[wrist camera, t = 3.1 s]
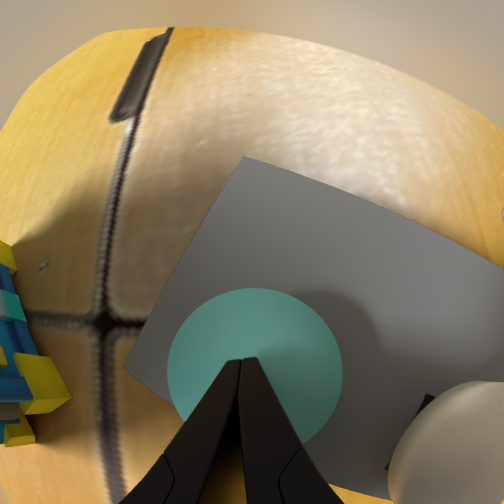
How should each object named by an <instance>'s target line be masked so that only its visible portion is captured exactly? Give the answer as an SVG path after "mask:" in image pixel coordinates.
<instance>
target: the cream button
mask: <svg viewBox="0 0 504 504" xmlns="http://www.w3.org/2000/svg"><path fill="white" fill-rule="evenodd" d="M387 484H388V491H389V494H390V497H391V499H392V500H393V502H394V504H500V503H501V502H502V501H503V500H504V382H486V381H470V382H466V383H462V384H460V385H457V386H455V387H452V388H451V389H449V390H447V391H445V392H444V393H442V394H441V395H439V396H438V397H436V398H435V399H434V400H433V401H432V402H430V403H429V404H428V405H427V406H426V407H425V408H424V409H423V410H422V411H421V412H420V413H419V414H418V415H417V417H416V418H415V419H414V420H413V421H412V423H411V424H410V425H409V427H408V428H407V429H406V431H405V432H404V434H403V436H402V437H401V439H400V441H399V443H398V445H397V447H396V449H395V451H394V453H393V456H392V459H391V462H390V465H389V471H388V483H387Z"/></svg>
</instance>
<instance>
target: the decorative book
mask: <svg viewBox="0 0 504 504" xmlns="http://www.w3.org/2000/svg"><path fill="white" fill-rule="evenodd" d="M15 272H17V267H16V263H15V260H14V256H13V252H12V248H11V246H9V245H8V244H6V243H4V242H2V241H0V444H3V446H4V447H13V446H21V445H28V444H35V435H34V433H33V431H32V429H31V427H30V425H29V423H28V421H27V420H26V418H25V416H24V415H26V414H41V413H50V412H52V411H53V410H55V409H56V408H58V407H59V406H61V405H62V404H64V403H65V402H67V401H68V400H70V399H71V398H72V396H71V394H70V393H69V391H68V389H67V387H66V386H65V384H64V382H63V380H62V378H61V376H60V375H59V373H58V371H57V369H56V367H55V365H54V363H53V361H52V359H51V357H46V356H39V354H38V352H37V350H36V347H35V345H34V343H33V340H32V338H31V335H30V333H29V330H28V328H27V320H26V318H25V315H24V312H23V309H22V306H21V303H20V300H19V297H18V295H16V293H15V289H14V286H13V282H12V279H11V275H12V274H14V273H15ZM23 413H24V414H23Z"/></svg>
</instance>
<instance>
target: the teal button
mask: <svg viewBox="0 0 504 504" xmlns="http://www.w3.org/2000/svg"><path fill="white" fill-rule="evenodd" d="M253 356H256V357H257V358H258V360H259V362H260V364H261V366H262V368H263V370H264V372H265V374H266V376H267V378H268V380H269V382H270V384H271V386H272V388H273V390H274V391H275V393H276V395H277V397H278V399H279V401H280V403H281V405H282V407H283V409H284V411H285V412H286V414H287V416H288V418H289V420H290V422H291V424H292V426H293V427H294V429H295V431H296V433H297V435H298V437H299V439H300V440H301V442H302V444H303V443H305V442H306V441H308V440H309V439H311V438H312V437H313V436H314V435H315V434H316V433H318V431H319V430H320V429H321V428H322V427H323V426H324V425H325V424H326V422H327V421H328V419H329V418H330V416H331V415H332V413H333V411H334V409H335V407H336V405H337V402H338V399H339V396H340V392H341V387H342V378H343V368H342V360H341V355H340V351H339V347H338V345H337V342H336V340H335V338H334V336H333V334H332V332H331V331H330V329H329V327H328V326H327V324H326V323H325V322H324V321H323V319H322V318H321V317H320V316H319V315H318V314H317V313H316V312H315V311H314V310H313V309H312V308H310V307H309V306H307V305H306V304H305V303H303V302H302V301H300V300H298V299H296V298H294V297H293V296H290V295H287V294H285V293H282V292H279V291H275V290H271V289H263V288H245V289H238V290H233V291H229V292H226V293H223V294H221V295H218V296H216V297H214V298H212V299H210V300H208V301H207V302H205V303H204V304H202V305H201V306H200V307H198V308H197V309H196V310H195V311H194V312H193V313H192V314H191V315H190V316H189V317H188V318H187V319H186V320H185V322H184V323H183V324H182V326H181V327H180V329H179V330H178V332H177V334H176V336H175V338H174V341H173V343H172V346H171V349H170V352H169V358H168V365H167V378H168V386H169V391H170V395H171V398H172V401H173V403H174V406H175V408H176V410H177V412H178V413H179V415H180V417H181V418H182V420H183V421H184V422H185V421H186V420H187V418H188V417H189V415H190V414H191V413H192V411H193V410H194V408H195V407H196V405H197V404H198V402H199V401H200V400H201V398H202V397H203V395H204V394H205V392H206V391H207V389H208V388H209V386H210V385H211V383H212V382H213V381H214V379H215V378H216V376H217V375H218V373H219V372H220V370H221V369H222V367H223V366H224V364H225V363H226V361H228V360H233V359H243V358H247V357H253Z"/></svg>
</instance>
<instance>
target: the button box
mask: <svg viewBox="0 0 504 504" xmlns="http://www.w3.org/2000/svg"><path fill="white" fill-rule="evenodd" d="M245 288H263V289H271V290H275V291H279V292H282V293H285V294H287V295H290V296H293V297H294V298H296V299H298V300H300V301H302V302H303V303H305V304H306V305H307V306H309V307H310V308H312V309H313V310H314V311H315V312H316V313H317V314H318V315H319V316H320V317H321V318H322V319H323V321H324V322H325V323H326V324H327V326H328V327H329V329H330V331H331V332H332V334H333V336H334V338H335V340H336V342H337V345H338V347H339V351H340V355H341V360H342V368H343V378H342V387H341V392H340V396H339V399H338V402H337V405H336V407H335V409H334V411H333V413H332V415H331V416H330V418H329V419H328V421H327V422H326V424H325V425H324V426H323V427H322V428H321V429H320V430H319V431H318V433H316V434H315V435H314V436H313V437H312V438H311V439H309V440H308V441H306V442H305V443H303V447H305V449H306V451H307V453H308V455H309V456H310V458H311V460H312V461H313V463H314V465H315V466H316V468H317V469H318V471H319V473H320V474H321V475H322V477H323V478H324V479H325V481H326V482H327V483H329V484H332V485H335V486H338V487H341V488H344V489H348V490H351V491H355V492H358V493H362V494H366V495H370V496H374V497H378V498H382V499H387V500H392V499H391V497H390V494H389V491H388V484H387V483H388V471H389V465H390V462H391V459H392V456H393V453H394V451H395V449H396V447H397V445H398V443H399V441H400V439H401V437H402V436H403V434H404V432H405V431H406V429H407V428H408V427H409V425H410V424H411V423H412V421H413V420H414V419H415V418H416V417H417V415H418V414H419V413H420V412H421V411H422V410H423V409H424V408H425V407H426V406H427V405H428V404H429V403H430V402H432V401H433V400H434V399H435V398H436V397H438V396H439V395H441V394H442V393H444V392H445V391H447V390H449V389H451V388H452V387H455V386H457V385H460V384H462V383H466V382H470V381H486V382H504V270H503V269H502V268H500V267H498V266H497V265H495V264H493V263H491V262H490V261H488V260H486V259H485V258H483V257H481V256H479V255H478V254H476V253H474V252H472V251H470V250H469V249H467V248H465V247H463V246H461V245H459V244H458V243H456V242H454V241H452V240H450V239H448V238H446V237H444V236H442V235H440V234H438V233H436V232H434V231H432V230H430V229H428V228H426V227H424V226H422V225H420V224H418V223H416V222H414V221H412V220H410V219H407V218H405V217H403V216H401V215H399V214H397V213H394V212H392V211H390V210H388V209H385V208H383V207H381V206H378V205H376V204H374V203H371V202H369V201H367V200H364V199H362V198H360V197H357V196H355V195H352V194H350V193H347V192H345V191H342V190H340V189H337V188H335V187H332V186H329V185H327V184H324V183H322V182H319V181H316V180H313V179H311V178H308V177H305V176H302V175H300V174H297V173H294V172H291V171H288V170H285V169H282V168H279V167H276V166H273V165H270V164H267V163H264V162H261V161H258V160H255V159H251V158H248V157H245V156H244V157H243V159H242V160H241V162H240V163H239V165H238V166H237V168H236V169H235V171H234V172H233V174H232V175H231V177H230V179H229V180H228V182H227V183H226V185H225V186H224V188H223V190H222V191H221V193H220V194H219V196H218V198H217V199H216V201H215V202H214V204H213V206H212V207H211V209H210V210H209V212H208V214H207V215H206V217H205V219H204V220H203V222H202V224H201V225H200V227H199V229H198V230H197V232H196V234H195V235H194V237H193V239H192V240H191V242H190V244H189V245H188V247H187V249H186V251H185V252H184V254H183V256H182V258H181V259H180V261H179V263H178V265H177V266H176V268H175V270H174V272H173V273H172V275H171V277H170V279H169V280H168V282H167V284H166V286H165V288H164V290H163V291H162V293H161V295H160V297H159V299H158V301H157V302H156V304H155V306H154V308H153V310H152V312H151V314H150V315H149V317H148V319H147V321H146V323H145V325H144V327H143V329H142V331H141V333H140V335H139V337H138V339H137V341H136V342H135V344H134V346H133V348H132V350H131V352H130V354H129V356H128V358H127V361H126V363H125V365H124V367H123V369H124V370H126V371H127V372H128V373H129V374H131V375H132V376H133V377H134V378H136V379H137V380H138V381H140V382H141V383H142V384H143V385H145V386H146V387H147V388H149V389H150V390H151V391H153V392H154V393H156V394H157V395H158V396H160V397H161V398H163V399H164V400H165V401H167V402H168V403H170V404H171V405H173V406H174V403H173V401H172V398H171V395H170V391H169V386H168V378H167V365H168V358H169V352H170V349H171V346H172V343H173V341H174V338H175V336H176V334H177V332H178V330H179V329H180V327H181V326H182V324H183V323H184V322H185V320H186V319H187V318H188V317H189V316H190V315H191V314H192V313H193V312H194V311H195V310H196V309H197V308H198V307H200V306H201V305H202V304H204V303H205V302H207V301H208V300H210V299H212V298H214V297H216V296H218V295H221V294H223V293H226V292H229V291H233V290H238V289H245ZM174 407H175V406H174ZM392 501H393V500H392Z"/></svg>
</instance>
